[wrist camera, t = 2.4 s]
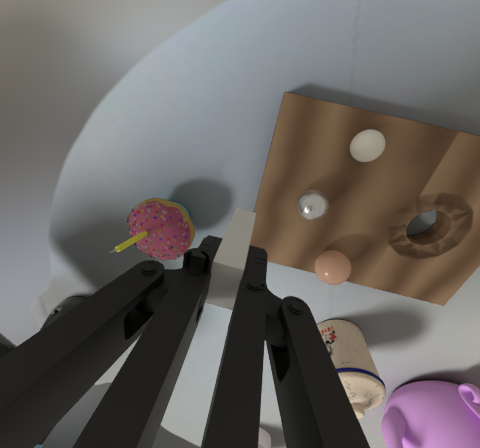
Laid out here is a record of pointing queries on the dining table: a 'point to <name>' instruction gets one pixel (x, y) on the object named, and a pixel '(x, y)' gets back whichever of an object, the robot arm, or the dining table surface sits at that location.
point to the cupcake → (159, 229)
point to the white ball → (367, 145)
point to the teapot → (433, 416)
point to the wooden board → (372, 198)
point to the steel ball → (312, 204)
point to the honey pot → (264, 439)
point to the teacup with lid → (353, 364)
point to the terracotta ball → (333, 267)
